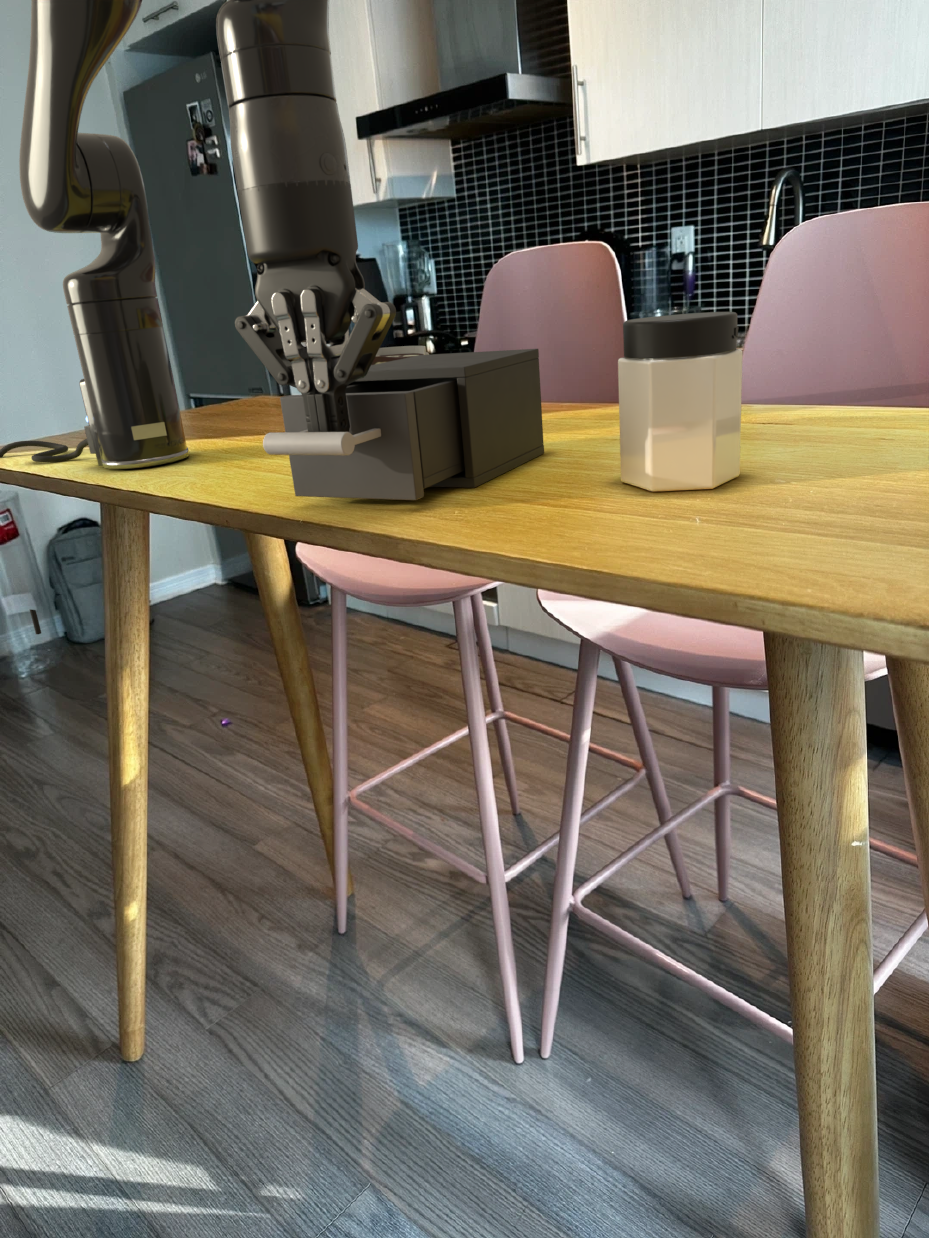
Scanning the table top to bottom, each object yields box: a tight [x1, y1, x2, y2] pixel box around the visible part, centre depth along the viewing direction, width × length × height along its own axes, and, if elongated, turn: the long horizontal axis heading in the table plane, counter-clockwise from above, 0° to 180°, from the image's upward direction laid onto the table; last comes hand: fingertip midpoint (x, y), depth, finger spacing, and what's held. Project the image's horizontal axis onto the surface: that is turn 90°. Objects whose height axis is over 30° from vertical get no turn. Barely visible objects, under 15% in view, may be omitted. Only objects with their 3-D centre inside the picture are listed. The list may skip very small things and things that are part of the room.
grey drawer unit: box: [348, 348, 545, 489], centre depth 79 cm, size 15×13×10 cm
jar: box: [617, 311, 743, 492], centre depth 66 cm, size 9×8×12 cm
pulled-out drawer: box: [262, 378, 465, 501], centre depth 70 cm, size 19×11×8 cm, turn 152°
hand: (330, 443), depth 65 cm, fingers closed
